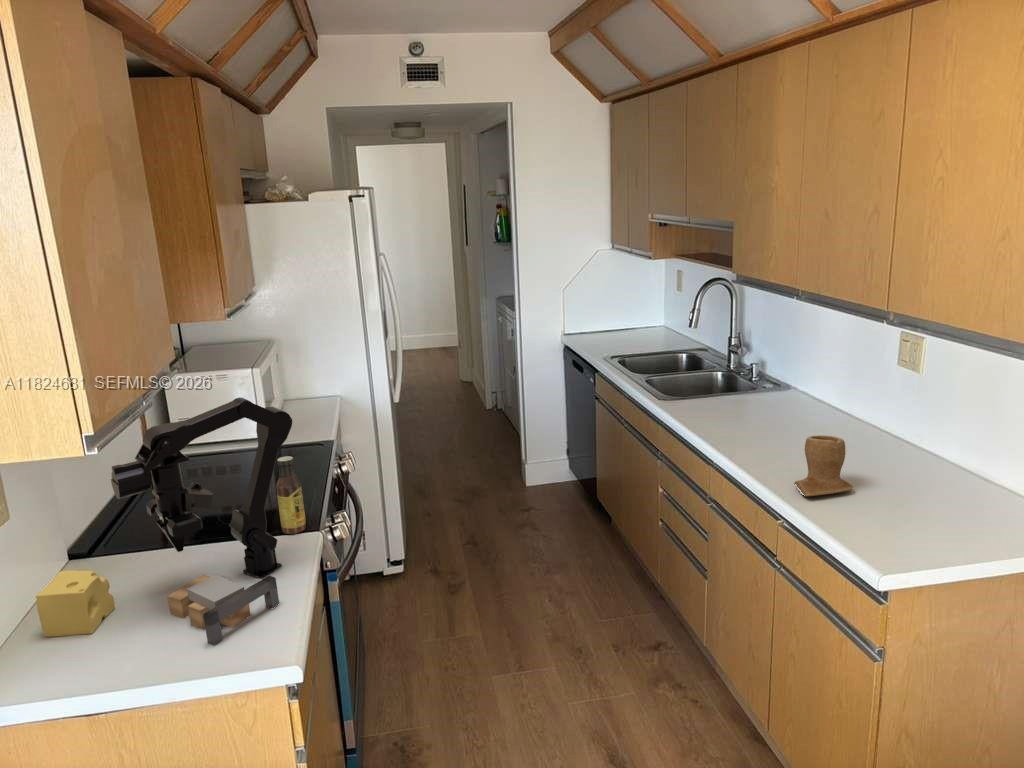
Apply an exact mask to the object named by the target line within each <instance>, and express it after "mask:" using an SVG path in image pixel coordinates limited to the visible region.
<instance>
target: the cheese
mask: <svg viewBox="0 0 1024 768" xmlns="http://www.w3.org/2000/svg"><path fill="white" fill-rule="evenodd" d="M109 590H110V583H109V580H108V578H106V577H103V576H100V575H99V574H98V573H96V572H95V571H94V570H72V569H71V570H62V571H61V570H60V571H59V572H57V573H56V575H55V576H54V577H53V578H52V580H51V581H50V582H49V583H48V584H47V585H46V586H45V587H44V588H43V589H42V590H41V591H40V592H39V593H37V594H36V595H35V598H36V599H35V600H36V609H37V613H38V616H39V622H40V625H41V628H42V632H43V634H44V636H45V638H46V637H48V638H50V637H63V636H73V635H74V636H76V635H78V636H79V635H92V634H94V632H95V631H96V630H97V629H98V627H99V626H100V625H101V623H102V621H103V619H104V618H107V617H109V615H110V614H111V613H112V612H113V611H114V610H115V607H116V606H115V605H116V604H115V603H116V602H115V598H114V596H113V595H112V594H111V593H110V591H109Z"/></svg>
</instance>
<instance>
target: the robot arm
mask: <svg viewBox="0 0 1024 768" xmlns="http://www.w3.org/2000/svg"><path fill="white" fill-rule="evenodd" d="M242 419H248V420H249V421H251V422H252V421H253V422H255V423H256V428H255V430H256V431H255V432H256V437H257V438H256V439H257V448H256V454H255V457H254V461H253V466H252V469H251V474H250V478H249V481H248V486H247V491H246V494H245V499H244V503H242V506H240V508H239V510H238V509H235V508H234V509H233V510H232V512H231V513H232V514H231V515H232V516H231V520H230V522H229V524H228V526H229V527H230V534H231V535H232V536H233V538H234V539H236V540H237V541H238V542H240V543H241V544H242V545H243V546H245V547H246V548H244V549H243V550H244V557H243V561H244V565H245V568H244V569H243V570H242V572H243V573H244V574H246V575H250V576H253V577H257V578H260V579H263V578H265V577H267V576H269V574H271V573H273V572H275V571H276V570H279V569H280V568H281V567H282V566H283V565H282V563H279V562H278V561H277V555H276V553H277V552H276V548H277V544H278V539H277V538H276V537H274V536H273V535H272V534H270V533H269V532H268V531H267V524H268V520H267V516H266V504H267V500H268V495H269V491H270V487H271V484H272V479H273V475H274V470H275V467H276V462H277V460H278V454H279V450H280V448H281V447H282V445H283V444H284V443H285V442H286V441H287V439H288V436H289V434H290V432H291V429H292V427H293V418H292V417H291V415H290V414H289V413H288V412H286V411H284V410H282V409H280V408H277V407H274V406H266V407H262V406H260V405H258V404H256V403H254V402H252V401H251V400H248V399H246V398H244V397H236V398H234V399H233V400H232V401H229V402H226V403H225V404H222V405H220V406H217V407H215V408H212V409H210V410H207V411H205V412H203V413H200V414H197V415H194V416H193V417H190V418H188V419H185V420H182V421H175V422H166V423H162V424H158V425H154V426H151V427H150V428H148V429H147V430H145V432H144V435H143V437H142V444H141V446H140V448H139V449H138V451H137V453H136V456H135V457H134V459H135V461H130V462H127V463H123V464H116V465H113V466H111V479H110V482H111V487H112V490H113V492H114V496H115V497H116V498H117V499H118V500H120V499H123V498H128V497H131V496H134V495H137V494H142V493H146V492H148V490H149V489H151V486H152V485H153V489H151V493H152V495H153V496H154V497H155V498H152V499H150V500H149V501H148V502H147V503H146V505H145V506H146V513H147V514H148V515H149V516H150V517H152V516H154V515H155V513H156V515H157V516H159V519H158V520H156V522H155V523H156V524H157V525H158V527H159V529H161V531H162V532H163V534H164V535H165V537H166V538H167V539H168V541H169V542H170V543H171V545H172V547H174V549H175V550H176V552H178V553H180V552H183V551H184V547H185V539H186V535H188V534H190V533H191V534H192V533H194V532H198V531H200V530H203V529H204V524H203V519H202V518H201V517H199V516H198V515H197V514H195V513H193V512H190V511H193V508H203V509H204V508H205V509H209V510H210V509H211V508H212V504H213V499H214V493H213V492H211V491H210V489H209V490H208V489H206V488H203V487H202V486H201V484H200V483H199V482H191V483H190V484H189V485H188V486H187V487H186V486H185V485H184V483H183V477H182V476H183V475H182V471H181V465H180V463H181V464H182V463H185V462H188V461H189V460H190V458H189V456H187V455H185V454H184V453H182V452H181V451H182V450H184V449H185V448H186V447H187V446H188V445H189V444H190V443H191V442H192V441H194V440H195V439H197V438H200V437H203V436H205V435H207V434H210V433H212V432H214V431H216V430H219V429H221V428H224V427H226V426H228V425H230V424H233V423H236V422H238V421H239V420H242Z"/></svg>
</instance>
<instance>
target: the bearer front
mask: <svg viewBox="0 0 1024 768" xmlns="http://www.w3.org/2000/svg"><path fill="white" fill-rule="evenodd" d="M188 610H189V616H188V617H189V620H190V625H191V626H192V627H195V628H197V629H199V630H201V631H204V630H206V629H205V623H204V618H203V614H204V613H206V612H208V611H209V610H210V609H208V608H206V607H204V606H202V605H200V604H198V603H195V602H194V603H192V604H191V605H189V606H188Z"/></svg>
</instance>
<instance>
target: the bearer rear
mask: <svg viewBox="0 0 1024 768" xmlns="http://www.w3.org/2000/svg"><path fill="white" fill-rule="evenodd" d="M212 576H213V575H211V576H210V575H207V574H201V575H200V576H199V577H197V578H195V579H194V580H192V581H191V582H189V583H187V584H185V585H184V586H182V587H181V588H179V589H177V590H176V591H174V592H172V593H170V594H169V595H167V596H166V598H167V603H168V609H169V613H170V616H173V617H177V618H181V619H185V618H187V617H190V616H189V610H188V606H189V605H191V604H192V603H194V602H193V601H191V600H189V599H188V593H187V588H190V587H192V586H194V585H196V584H198V583H200V582H202V581H204V580H206V579H208V578H210V577H212Z"/></svg>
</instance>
